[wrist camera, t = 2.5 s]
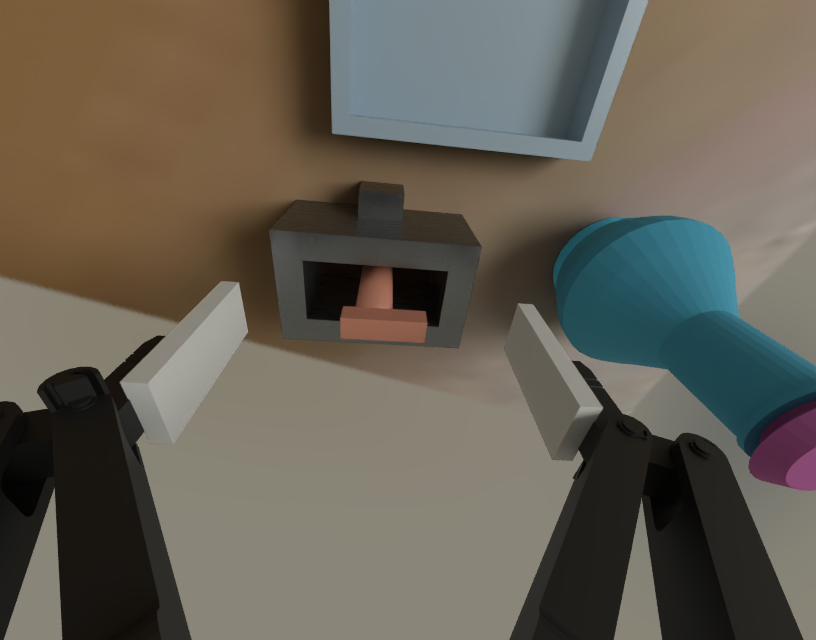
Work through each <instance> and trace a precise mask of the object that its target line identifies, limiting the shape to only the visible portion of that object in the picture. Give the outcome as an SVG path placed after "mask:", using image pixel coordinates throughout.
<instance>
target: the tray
mask: <svg viewBox="0 0 816 640" xmlns="http://www.w3.org/2000/svg"><path fill="white" fill-rule="evenodd" d="M647 3H648V0H329V10H330V59H331V107H332V134H341V135H350V136H360V137H369V138H378V139H387V140H397V141H406V142H415V143H425V144H434V145H443V146H452V147H462V148H471V149H480V150H489V151H499V152H508V153H517V154H527V155H536V156H545V157H554V158H564V159H573V160H582V161H591V159H592V156H593V153H594V150H595V147H596V145H597V142H598V139H599V136H600V134H601V131H602V128H603V125H604V122H605V120H606V117H607V114H608V111H609V109H610V106H611V103H612V100H613V97H614V95H615V92H616V89H617V86H618V84H619V81H620V78H621V75H622V72H623V70H624V67H625V64H626V61H627V58H628V56H629V53H630V50H631V47H632V45H633V42H634V39H635V36H636V33H637V31H638V28H639V25H640V22H641V20H642V17H643V14H644V11H645V8H646V6H647Z"/></svg>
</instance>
